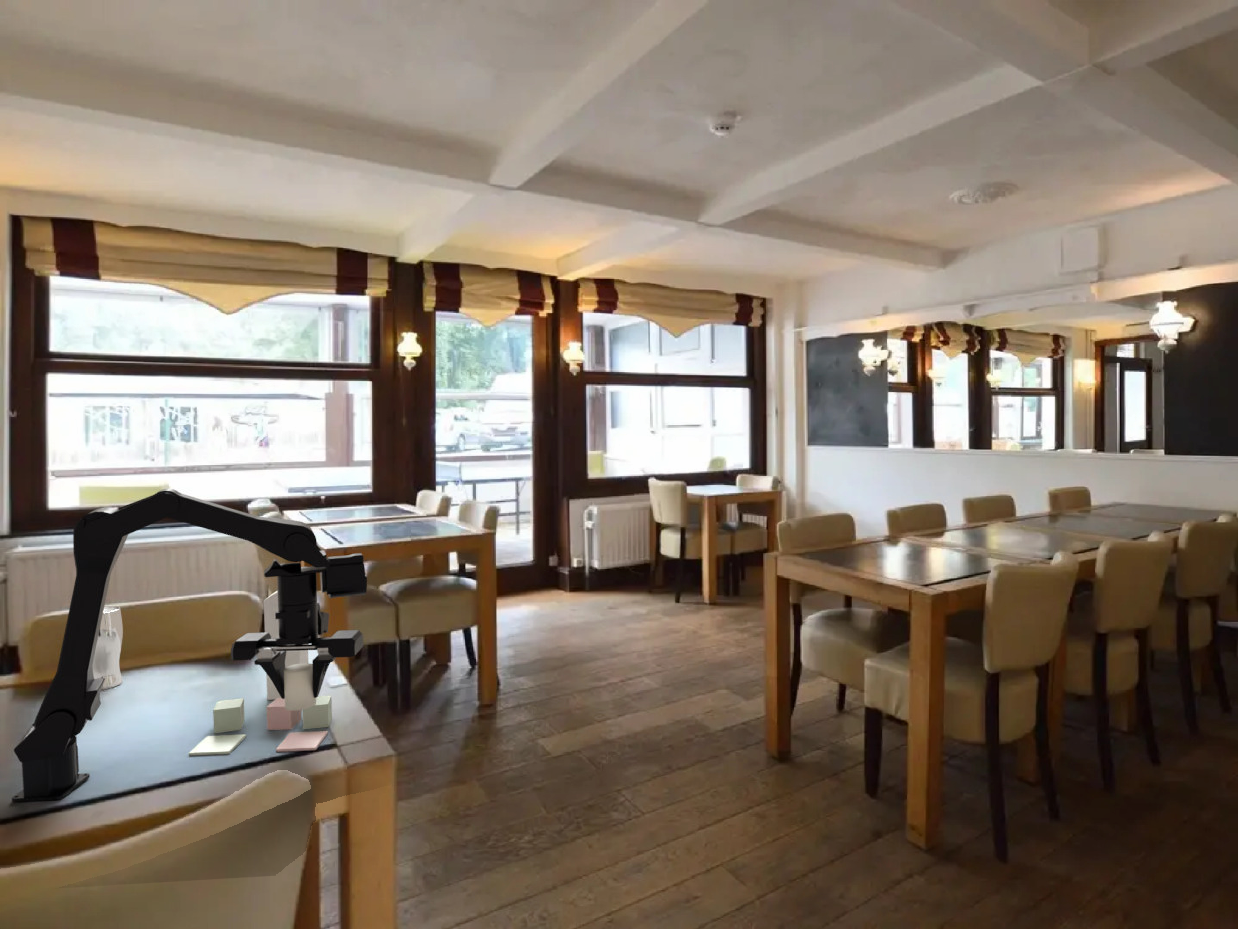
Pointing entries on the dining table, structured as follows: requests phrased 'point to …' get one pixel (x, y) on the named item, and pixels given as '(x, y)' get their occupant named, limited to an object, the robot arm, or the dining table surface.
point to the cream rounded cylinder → (299, 687)
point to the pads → (229, 742)
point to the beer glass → (109, 648)
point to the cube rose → (281, 716)
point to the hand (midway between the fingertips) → (300, 697)
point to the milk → (273, 630)
